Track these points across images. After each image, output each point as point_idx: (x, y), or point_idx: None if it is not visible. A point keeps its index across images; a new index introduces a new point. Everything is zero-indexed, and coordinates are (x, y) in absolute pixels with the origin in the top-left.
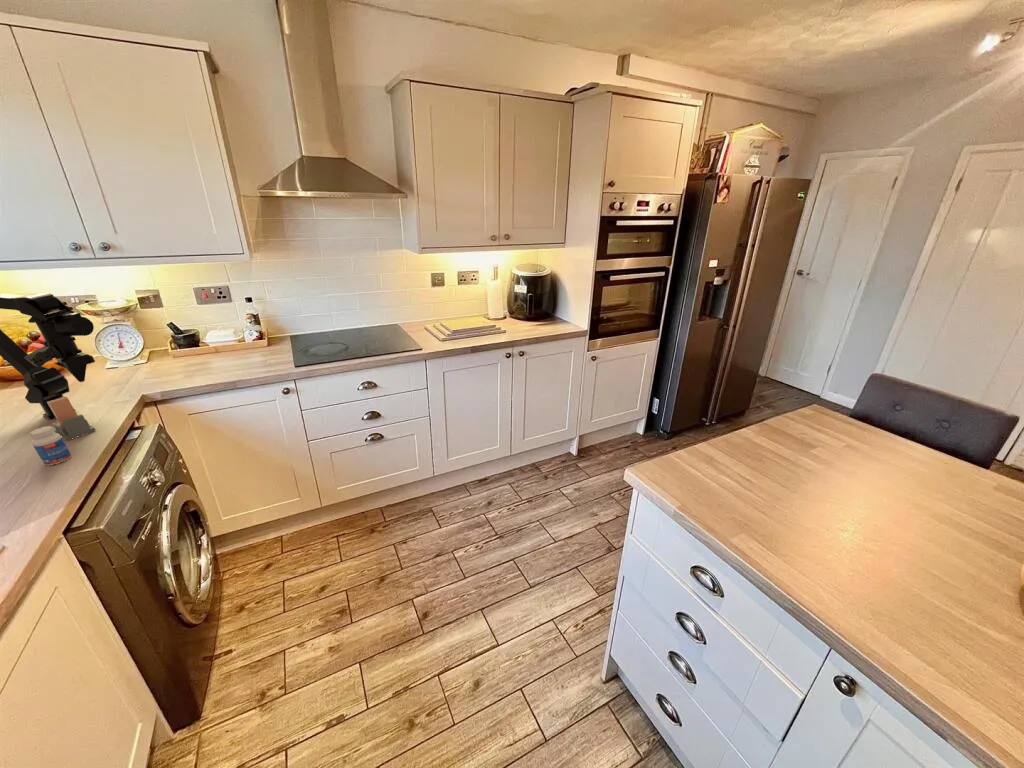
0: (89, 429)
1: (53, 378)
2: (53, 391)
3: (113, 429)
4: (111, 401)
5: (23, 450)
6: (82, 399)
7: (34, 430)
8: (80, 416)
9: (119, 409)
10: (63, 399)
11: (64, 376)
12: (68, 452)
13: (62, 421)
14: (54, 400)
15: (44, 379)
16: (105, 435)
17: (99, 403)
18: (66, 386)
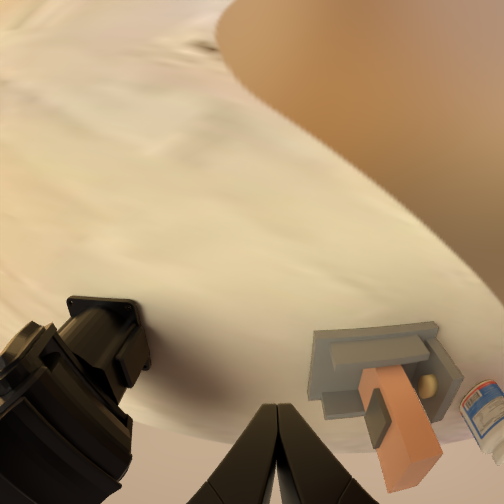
0: (435, 340)
1: (61, 452)
2: (112, 420)
3: (479, 285)
4: (142, 171)
5: (342, 439)
6: (24, 238)
7: (499, 462)
8: (460, 381)
9: (310, 189)
10: (435, 460)
11: (25, 397)
12: (499, 388)
13: (437, 420)
14: (408, 480)
15: (82, 485)
16: (487, 312)
17: (118, 213)
18: (63, 363)
